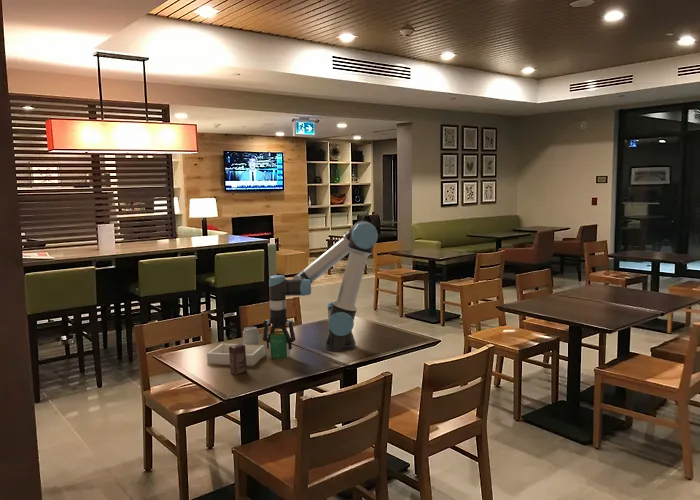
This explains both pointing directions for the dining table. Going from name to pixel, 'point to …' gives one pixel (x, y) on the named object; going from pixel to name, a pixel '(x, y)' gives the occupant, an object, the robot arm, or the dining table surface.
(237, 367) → the box
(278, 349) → the beverage can
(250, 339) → the can
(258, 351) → the bus tub
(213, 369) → the dining table surface
